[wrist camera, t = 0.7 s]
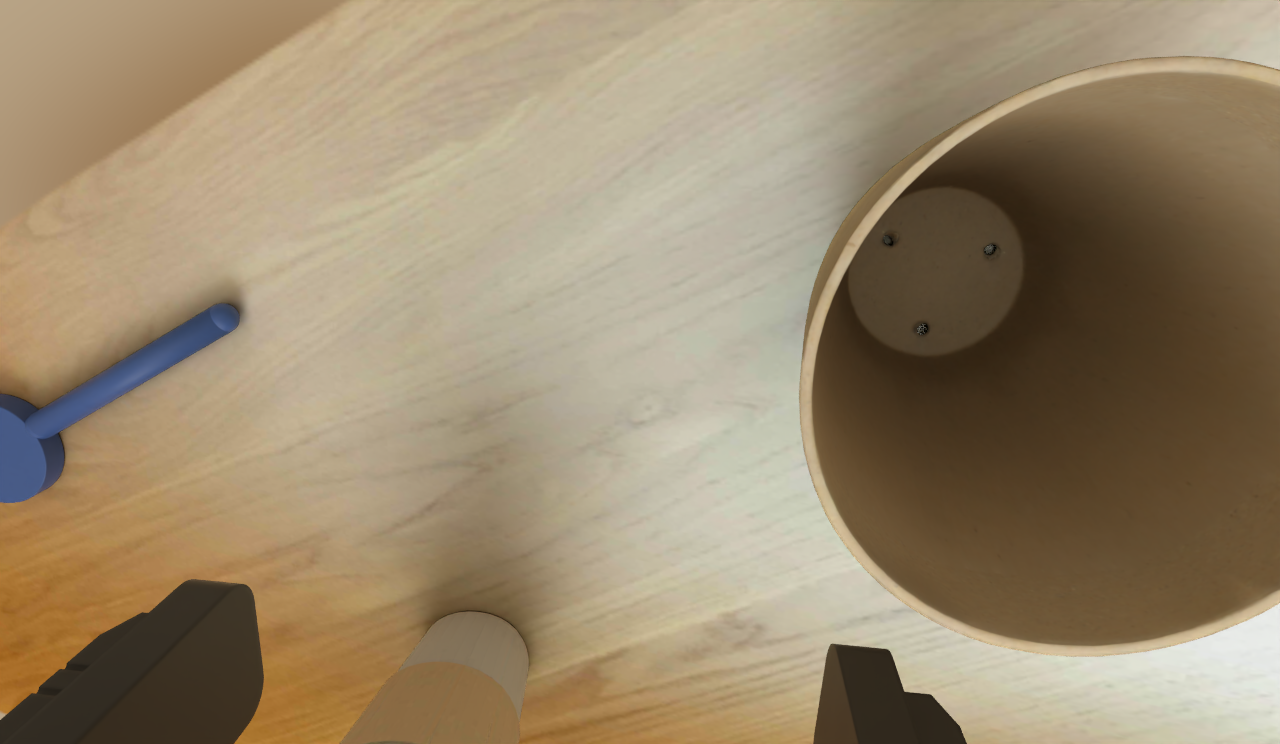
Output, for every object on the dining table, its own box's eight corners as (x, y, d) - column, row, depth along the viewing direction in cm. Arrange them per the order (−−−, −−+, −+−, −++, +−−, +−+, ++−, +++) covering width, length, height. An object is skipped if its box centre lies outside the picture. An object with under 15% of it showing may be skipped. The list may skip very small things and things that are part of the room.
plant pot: (1112, 409, 35) (1421, 636, 20) (778, 445, 37) (825, 676, 22) (1124, 55, 30) (1535, -5, 15) (742, 116, 32) (770, 117, 17)
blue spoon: (206, 256, 36) (187, 261, 35) (277, 358, 37) (261, 367, 36) (-62, 421, 40) (-88, 432, 39) (11, 508, 42) (-12, 521, 40)
